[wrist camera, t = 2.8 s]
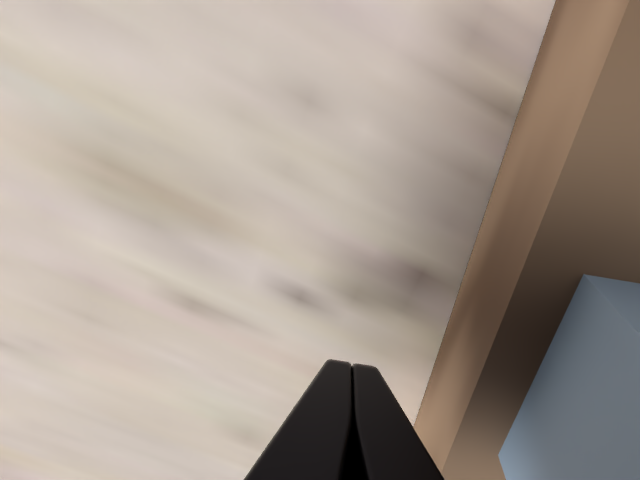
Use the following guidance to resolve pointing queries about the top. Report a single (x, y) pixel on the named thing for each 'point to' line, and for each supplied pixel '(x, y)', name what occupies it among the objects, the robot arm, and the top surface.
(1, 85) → the top surface
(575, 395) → the blue block
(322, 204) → the top surface
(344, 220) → the top surface
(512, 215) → the trap board
